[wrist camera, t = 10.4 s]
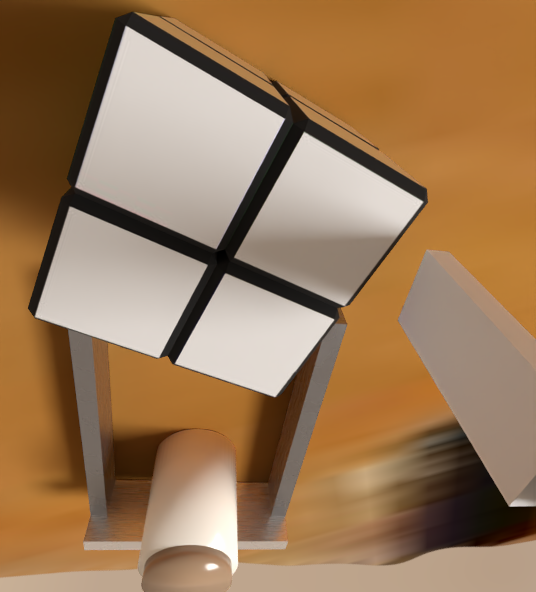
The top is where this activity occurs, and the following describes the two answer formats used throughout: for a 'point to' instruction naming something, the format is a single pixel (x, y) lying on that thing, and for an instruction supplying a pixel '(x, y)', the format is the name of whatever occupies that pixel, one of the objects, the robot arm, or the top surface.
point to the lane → (135, 493)
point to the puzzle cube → (214, 212)
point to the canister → (191, 515)
